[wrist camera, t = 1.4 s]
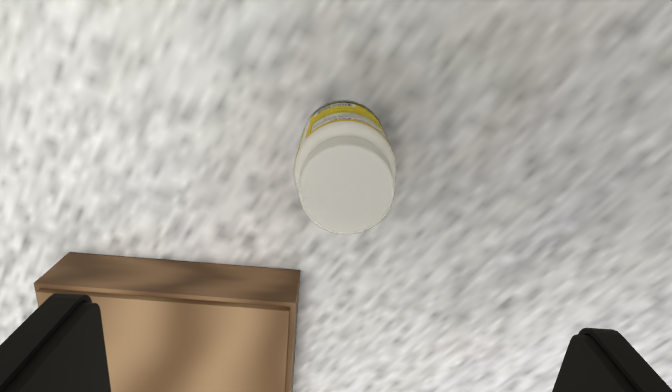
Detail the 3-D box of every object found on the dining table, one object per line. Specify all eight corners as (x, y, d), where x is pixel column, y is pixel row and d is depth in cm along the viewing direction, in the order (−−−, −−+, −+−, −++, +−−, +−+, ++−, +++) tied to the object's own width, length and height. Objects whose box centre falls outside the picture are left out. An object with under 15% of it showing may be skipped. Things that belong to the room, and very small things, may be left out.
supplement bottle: (352, 192, 27) (358, 263, 19) (287, 150, 26) (265, 206, 18) (400, 129, 26) (427, 177, 18) (333, 81, 25) (330, 111, 17)
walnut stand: (300, 270, 29) (294, 307, 25) (290, 416, 34) (284, 465, 30) (69, 252, 29) (29, 287, 25) (92, 403, 34) (62, 451, 30)
